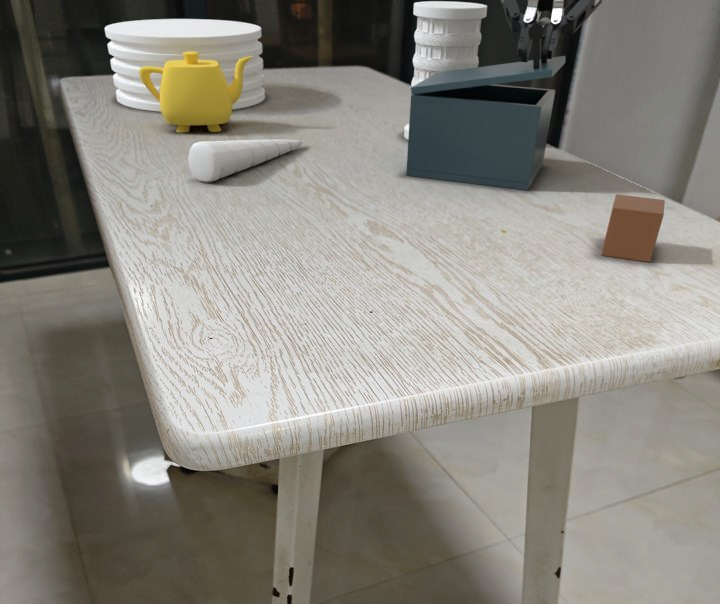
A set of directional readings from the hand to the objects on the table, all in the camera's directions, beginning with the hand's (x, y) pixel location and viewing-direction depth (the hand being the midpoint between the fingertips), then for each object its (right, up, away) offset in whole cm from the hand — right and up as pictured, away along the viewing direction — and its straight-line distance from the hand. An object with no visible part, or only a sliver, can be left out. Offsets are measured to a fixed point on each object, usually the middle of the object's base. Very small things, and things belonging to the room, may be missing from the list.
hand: (534, 57), depth 88 cm
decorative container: (-9, +3, +28) cm, 29 cm away
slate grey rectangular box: (-5, -9, +12) cm, 16 cm away
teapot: (-48, +6, +30) cm, 57 cm away
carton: (+7, -28, -11) cm, 31 cm away
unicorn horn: (-37, -8, +12) cm, 40 cm away
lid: (-5, 0, +5) cm, 7 cm away
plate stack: (-54, +21, +49) cm, 76 cm away
